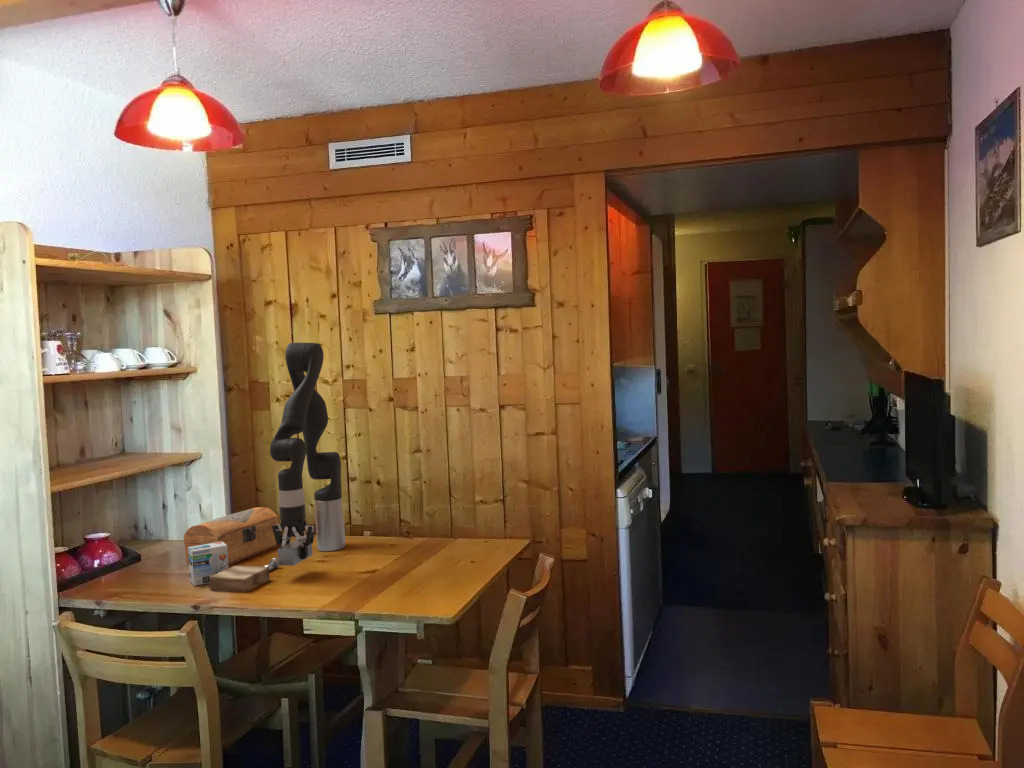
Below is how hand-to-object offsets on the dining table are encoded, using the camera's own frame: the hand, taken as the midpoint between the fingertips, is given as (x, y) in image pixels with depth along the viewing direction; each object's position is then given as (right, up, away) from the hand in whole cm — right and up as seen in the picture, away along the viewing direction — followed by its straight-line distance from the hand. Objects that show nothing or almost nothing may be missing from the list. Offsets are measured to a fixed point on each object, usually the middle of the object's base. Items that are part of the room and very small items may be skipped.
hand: (295, 558), depth 248 cm
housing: (0, -1, 0) cm, 1 cm away
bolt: (-11, -6, +9) cm, 15 cm away
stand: (-15, -7, -6) cm, 17 cm away
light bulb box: (-26, -7, +1) cm, 27 cm away
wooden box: (-29, -6, +31) cm, 42 cm away
